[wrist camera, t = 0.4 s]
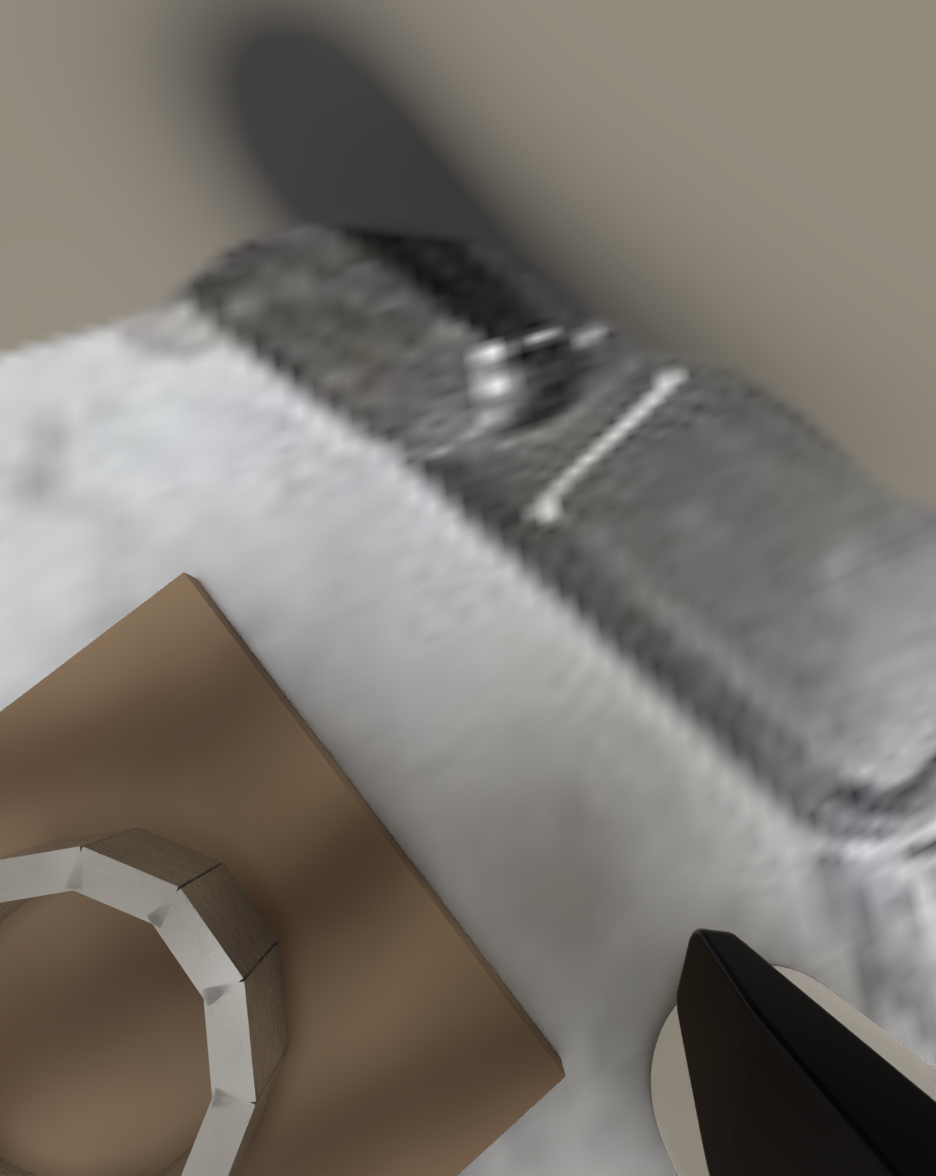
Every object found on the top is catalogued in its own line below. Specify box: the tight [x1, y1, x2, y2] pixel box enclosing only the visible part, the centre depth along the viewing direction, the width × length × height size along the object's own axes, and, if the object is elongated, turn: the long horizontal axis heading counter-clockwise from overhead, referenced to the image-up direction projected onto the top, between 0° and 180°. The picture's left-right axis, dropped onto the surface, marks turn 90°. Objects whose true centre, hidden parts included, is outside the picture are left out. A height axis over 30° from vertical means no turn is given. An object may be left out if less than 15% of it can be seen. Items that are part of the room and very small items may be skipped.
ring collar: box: [0, 828, 290, 1176], centre depth 18 cm, size 10×10×3 cm
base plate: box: [0, 573, 565, 1176], centre depth 20 cm, size 18×18×1 cm
